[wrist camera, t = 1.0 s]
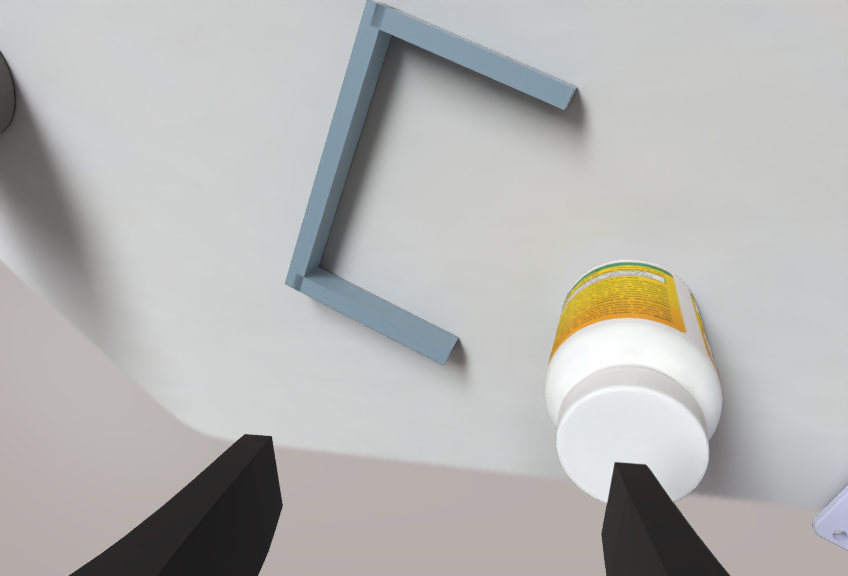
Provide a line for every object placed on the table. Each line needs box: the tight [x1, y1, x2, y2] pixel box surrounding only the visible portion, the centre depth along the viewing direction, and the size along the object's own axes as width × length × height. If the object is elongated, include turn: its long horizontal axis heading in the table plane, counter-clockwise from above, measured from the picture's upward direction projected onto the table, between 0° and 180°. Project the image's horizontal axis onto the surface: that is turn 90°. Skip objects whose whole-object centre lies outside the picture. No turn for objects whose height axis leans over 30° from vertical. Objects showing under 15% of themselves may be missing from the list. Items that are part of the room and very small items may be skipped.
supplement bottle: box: [544, 260, 723, 503], centre depth 20 cm, size 5×5×10 cm
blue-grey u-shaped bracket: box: [285, 0, 577, 365], centre depth 24 cm, size 8×13×2 cm, turn 159°
